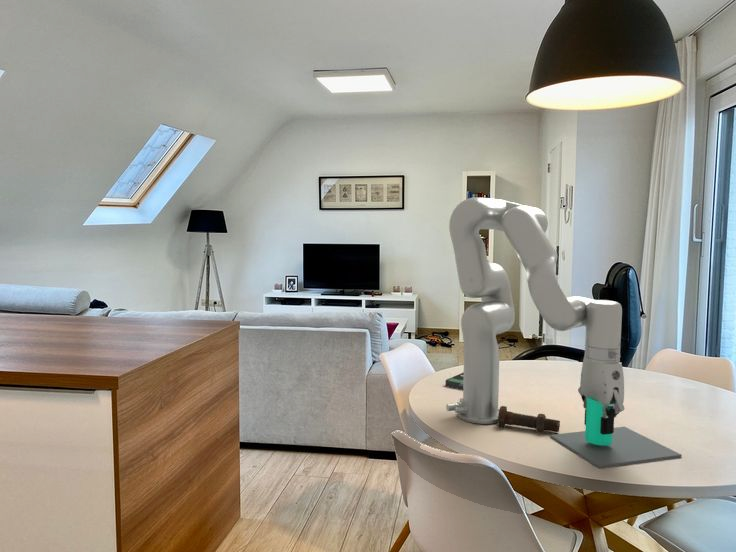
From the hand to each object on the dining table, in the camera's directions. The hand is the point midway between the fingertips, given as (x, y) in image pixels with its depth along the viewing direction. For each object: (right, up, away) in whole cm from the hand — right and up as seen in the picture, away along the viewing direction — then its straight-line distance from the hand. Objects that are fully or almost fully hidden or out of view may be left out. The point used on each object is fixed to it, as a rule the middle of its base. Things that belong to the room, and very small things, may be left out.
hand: (598, 428), depth 126 cm
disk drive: (-20, -1, +53) cm, 57 cm away
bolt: (-13, -4, +12) cm, 18 cm away
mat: (+4, -5, +1) cm, 6 cm away
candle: (0, -3, 0) cm, 3 cm away
